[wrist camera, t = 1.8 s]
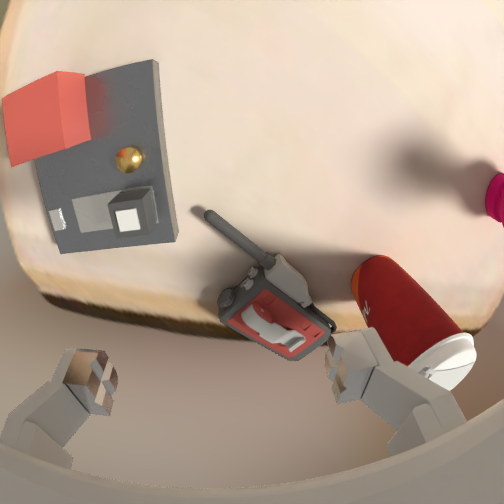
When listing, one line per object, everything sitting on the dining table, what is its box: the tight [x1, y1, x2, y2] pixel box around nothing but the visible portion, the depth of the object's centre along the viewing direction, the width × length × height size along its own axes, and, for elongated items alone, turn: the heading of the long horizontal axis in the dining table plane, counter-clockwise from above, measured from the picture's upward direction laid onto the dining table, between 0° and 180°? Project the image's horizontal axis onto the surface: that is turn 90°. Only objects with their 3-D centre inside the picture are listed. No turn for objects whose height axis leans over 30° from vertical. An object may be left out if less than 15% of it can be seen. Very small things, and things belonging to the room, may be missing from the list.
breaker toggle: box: [107, 189, 157, 239], centre depth 20 cm, size 3×3×3 cm
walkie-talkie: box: [204, 210, 337, 361], centre depth 28 cm, size 9×4×20 cm
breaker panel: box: [35, 59, 179, 254], centre depth 20 cm, size 15×12×3 cm
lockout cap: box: [2, 71, 91, 167], centre depth 15 cm, size 6×6×4 cm
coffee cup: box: [351, 256, 476, 391], centre depth 23 cm, size 8×8×15 cm
